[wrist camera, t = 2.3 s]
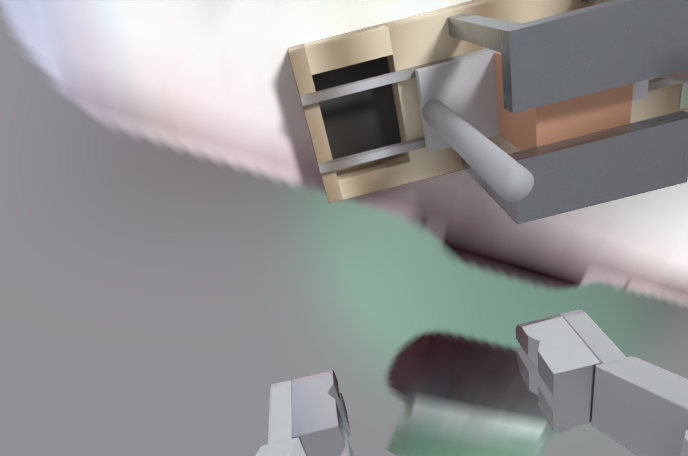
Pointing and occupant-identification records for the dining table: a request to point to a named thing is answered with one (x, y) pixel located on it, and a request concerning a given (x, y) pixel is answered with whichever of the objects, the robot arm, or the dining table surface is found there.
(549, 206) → the tunnel
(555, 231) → the dining table surface
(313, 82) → the board
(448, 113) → the sled
